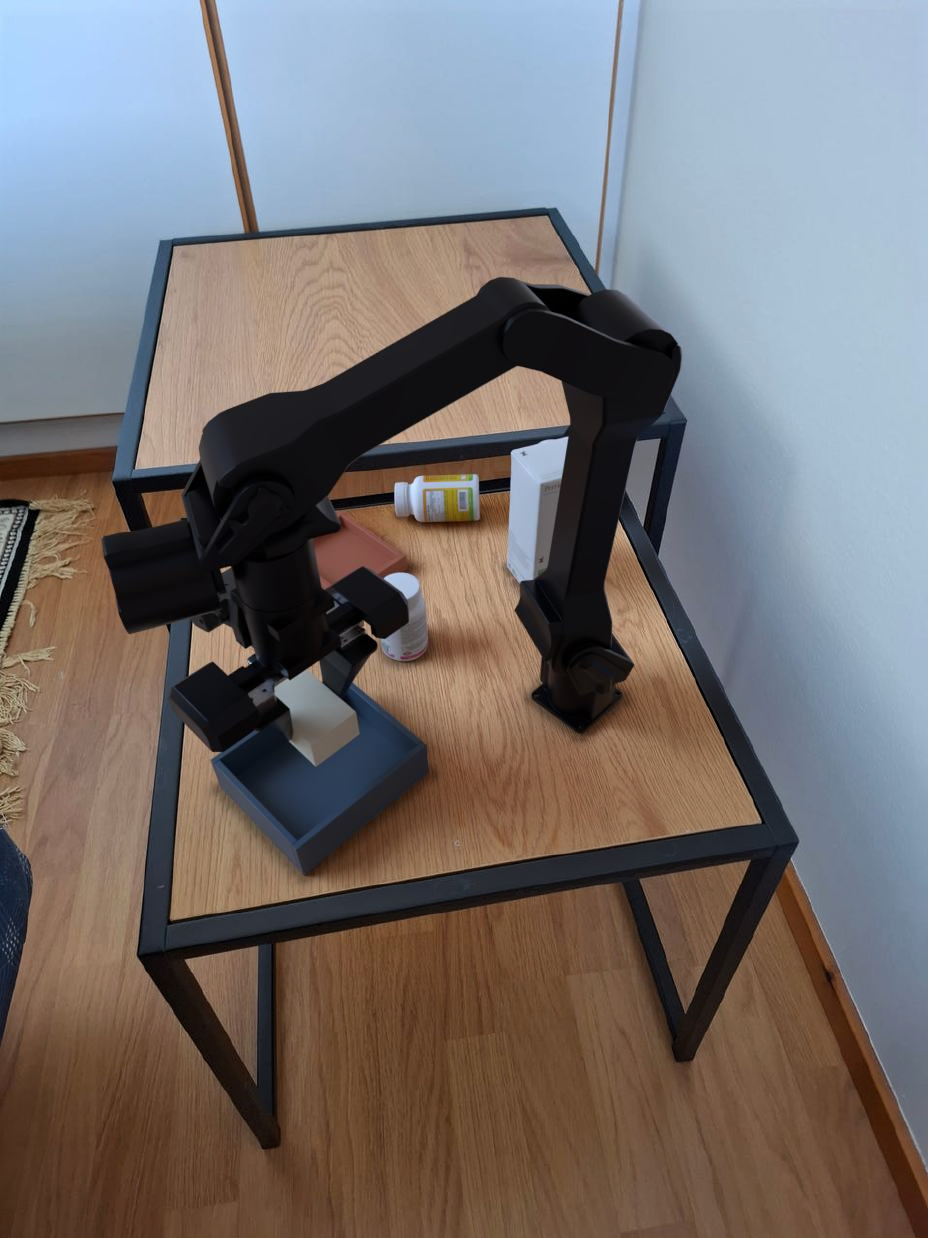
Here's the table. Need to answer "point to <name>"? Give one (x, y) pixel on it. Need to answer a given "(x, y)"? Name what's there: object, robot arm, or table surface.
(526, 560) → the cosmetic box
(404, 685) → the table surface
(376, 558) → the tray
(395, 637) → the pill bottle
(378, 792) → the box
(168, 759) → the table surface
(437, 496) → the supplement bottle
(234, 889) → the table surface
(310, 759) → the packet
